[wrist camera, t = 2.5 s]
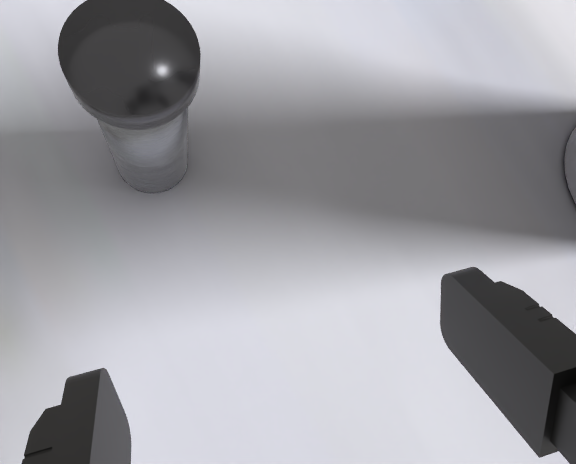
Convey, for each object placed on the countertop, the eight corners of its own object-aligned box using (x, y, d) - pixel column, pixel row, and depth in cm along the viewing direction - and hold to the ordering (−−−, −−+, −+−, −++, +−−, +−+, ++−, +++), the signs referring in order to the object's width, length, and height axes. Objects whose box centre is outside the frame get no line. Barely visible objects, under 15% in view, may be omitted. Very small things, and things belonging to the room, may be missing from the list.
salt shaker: (175, 109, 27) (168, -25, 17) (208, 181, 26) (222, 88, 16) (95, 137, 25) (35, 11, 15) (128, 213, 25) (90, 133, 15)
